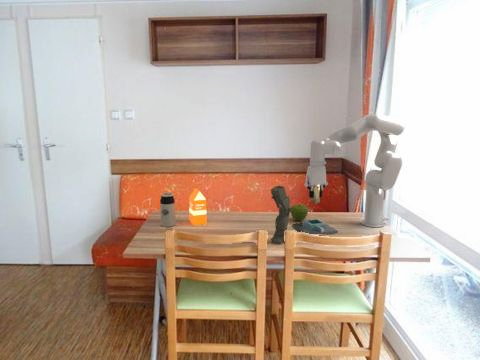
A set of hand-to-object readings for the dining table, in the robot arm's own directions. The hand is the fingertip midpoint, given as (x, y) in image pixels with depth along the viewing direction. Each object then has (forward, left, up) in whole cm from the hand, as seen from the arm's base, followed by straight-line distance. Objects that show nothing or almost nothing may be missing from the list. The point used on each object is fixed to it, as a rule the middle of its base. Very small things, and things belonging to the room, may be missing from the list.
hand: (315, 197), depth 195 cm
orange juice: (+58, -32, -19) cm, 69 cm away
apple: (0, -18, -19) cm, 26 cm away
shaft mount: (0, 0, -18) cm, 18 cm away
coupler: (0, 0, -3) cm, 3 cm away
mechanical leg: (+25, +10, -19) cm, 33 cm away
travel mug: (+75, -33, -19) cm, 84 cm away
